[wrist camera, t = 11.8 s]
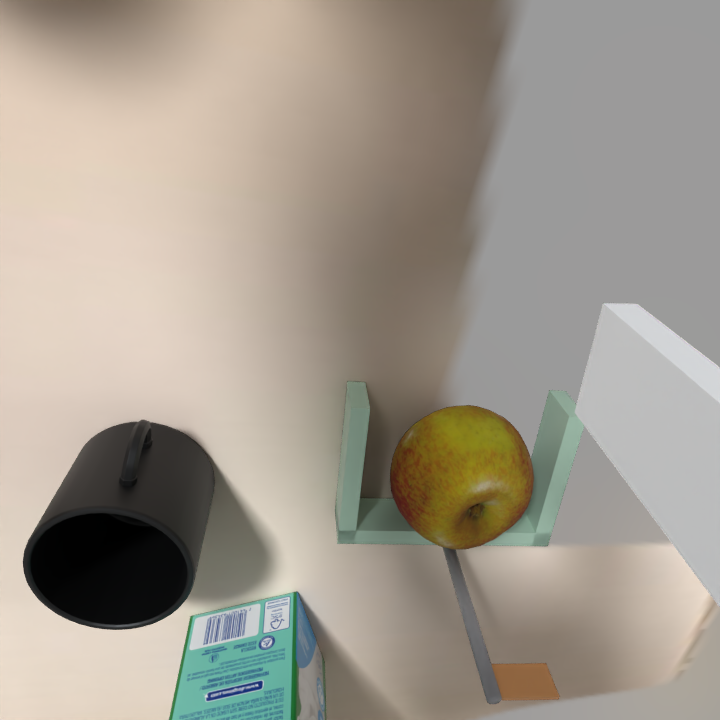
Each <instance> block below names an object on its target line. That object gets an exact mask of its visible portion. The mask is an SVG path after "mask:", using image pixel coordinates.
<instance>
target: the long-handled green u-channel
mask: <svg viewBox="0 0 720 720" xmlns="http://www.w3.org/2000/svg"><path fill="white" fill-rule="evenodd" d="M576 405H577V404H576V403H575V402H574V401H573V400H572V398H571V397H570V396H569V395H568V393H567V392H566V391H553V390H551V391H550V390H549V393H548V397H547V401H546V405H545V409H544V412H543V416H542V420H541V423H540V427H539V431H538V435H537V439H536V443H535V446H534V450H533V454H532V457H531V461H532V466H533V475H534V483H533V491H532V496H531V499H530V502H529V505H528V507H527V509H526V510H525V512H524V514H523V515H522V517H521V518H520V519H519V520H518V521H517V522H516V523H515V524H514V525H513V526H512V527H511V528H509V529H508V530H507V531H505V532H504V533H502V534H501V535H500V536H498V537H497V538H496V539H494V540H492V541H490V542H488V543H485V544H483V545H496V546H548V543H549V540H550V537H551V533H552V530H553V527H554V524H555V520H556V517H557V514H558V510H559V507H560V504H561V500H562V497H563V494H564V491H565V487H566V484H567V481H568V477H569V474H570V471H571V467H572V464H573V461H574V458H575V455H576V451H577V448H578V445H579V441H580V438H581V434H582V432H583V428H584V425H583V423H582V422H581V421H580V419H579V418H578V417H577V415H576V414H575V413H574V412H575V409H576ZM369 415H370V405H369V400H368V394H367V389H366V384H365V382H350V381H347V392H346V402H345V412H344V423H343V433H342V444H341V454H340V464H339V475H338V485H337V495H336V506H335V516H336V531H337V544H415V545H436V544H434V543H432V542H430V541H428V540H426V539H425V538H423V537H422V536H421V535H420V534H418V533H417V532H416V531H415V530H414V529H413V528H412V527H411V526H410V525H409V523H408V522H407V521H406V520H405V518H404V517H403V516H402V514H401V513H400V512H399V510H398V507H397V505H396V503H395V501H394V499H384V498H360V492H361V483H362V475H363V466H364V458H365V449H366V441H367V432H368V424H369ZM443 550H444V553H445V557H446V560H447V564H448V567H449V571H450V574H451V578H452V581H453V585H454V588H455V592H456V595H457V599H458V602H459V606H460V609H461V613H462V616H463V620H464V623H465V627H466V630H467V634H468V637H469V641H470V644H471V647H472V651H473V654H474V658H475V661H476V665H477V668H478V672H479V675H480V679H481V682H482V686H483V689H484V693H485V696H486V700H487V702H488V703H489V704H497V703H499V702H500V701H501V700H550V699H559V694H558V692H557V689H556V687H555V684H554V682H553V679H552V677H551V674H550V672H549V670H548V667H547V665H546V663H535V664H491V662H490V659H489V655H488V652H487V649H486V646H485V643H484V639H483V636H482V633H481V630H480V627H479V623H478V620H477V617H476V614H475V611H474V607H473V604H472V601H471V598H470V595H469V591H468V588H467V585H466V582H465V579H464V575H463V572H462V569H461V566H460V563H459V559H458V556H457V553H456V550H455V549H449V548H445V547H443Z"/></svg>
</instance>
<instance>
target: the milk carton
mask: <svg viewBox="0 0 720 720" xmlns="http://www.w3.org/2000/svg"><path fill="white" fill-rule="evenodd" d="M169 720H326V691H325V662H324V659H323V657H322V654H321V652H320V649H319V646H318V644H317V641H316V639H315V636H314V634H313V631H312V628H311V626H310V623H309V621H308V618H307V616H306V613H305V610H304V608H303V605H302V603H301V600H300V597H299V595H298V593H297V592H293V593H289V594H285V595H280V596H276V597H272V598H267V599H263V600H259V601H254V602H250V603H246V604H241V605H237V606H233V607H228V608H224V609H220V610H216V611H211V612H207V613H203V614H198V615H194V616H191V617H190V621H189V626H188V631H187V636H186V640H185V645H184V650H183V655H182V660H181V664H180V669H179V674H178V679H177V683H176V688H175V693H174V698H173V703H172V707H171V712H170V717H169Z"/></svg>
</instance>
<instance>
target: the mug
mask: <svg viewBox="0 0 720 720" xmlns="http://www.w3.org/2000/svg"><path fill="white" fill-rule="evenodd" d="M214 484H215V480H214V472H213V469H212V466H211V464H210V462H209V460H208V458H207V456H206V454H205V453H204V452H203V450H202V449H201V448H200V447H199V446H198V445H197V444H196V443H195V442H194V441H193V440H192V439H191V438H189V437H188V436H186V435H185V434H183V433H181V432H179V431H178V430H176V429H173V428H171V427H168V426H165V425H161V424H157V423H150V422H149V421H146V420H141V421H139V422H130V423H124V424H119V425H116V426H113V427H110V428H108V429H106V430H104V431H102V432H100V433H98V434H97V435H95V436H94V437H93V438H91V439H90V440H89V441H88V442H87V443H86V444H85V446H84V447H83V449H82V450H81V452H80V453H79V455H78V457H77V458H76V460H75V462H74V463H73V465H72V467H71V469H70V470H69V472H68V474H67V475H66V477H65V479H64V480H63V482H62V484H61V486H60V487H59V489H58V491H57V492H56V494H55V496H54V498H53V499H52V501H51V503H50V504H49V506H48V508H47V509H46V511H45V513H44V515H43V516H42V518H41V520H40V521H39V523H38V525H37V527H36V528H35V530H34V532H33V533H32V535H31V537H30V538H29V540H28V543H27V545H26V548H25V551H24V557H23V568H24V574H25V577H26V581H27V583H28V585H29V587H30V588H31V590H32V591H33V593H34V594H35V595H36V597H37V598H38V599H39V600H40V601H41V602H42V603H43V604H44V605H45V606H47V607H48V608H49V609H51V610H52V611H53V612H55V613H56V614H58V615H60V616H62V617H64V618H66V619H68V620H70V621H73V622H76V623H78V624H81V625H85V626H89V627H94V628H100V629H111V630H122V629H133V628H138V627H143V626H146V625H150V624H153V623H155V622H158V621H160V620H162V619H164V618H166V617H167V616H169V615H171V614H172V613H173V612H174V611H176V610H177V609H178V608H179V607H180V606H181V605H182V604H183V602H184V601H185V600H186V599H187V597H188V595H189V593H190V592H191V589H192V587H193V583H194V580H195V576H196V571H197V566H198V562H199V557H200V552H201V548H202V543H203V539H204V534H205V529H206V525H207V520H208V515H209V511H210V506H211V502H212V497H213V492H214Z"/></svg>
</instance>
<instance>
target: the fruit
mask: <svg viewBox="0 0 720 720" xmlns="http://www.w3.org/2000/svg"><path fill="white" fill-rule="evenodd" d="M390 483H391V492H392V495H393V498H394V501H395V503H396V505H397V507H398V510H399V512H400V513H401V514H402V516H403V517H404V518H405V520H406V521H407V522H408V523H409V525H410V526H411V527H412V528H413V529H414V530H415V531H416V532H417V533H418V534H420V535H421V536H422V537H423V538H425V539H426V540H428V541H430V542H432V543H434V544H436V545H439V546H441V547H445V548H449V549H469V548H473V547H477V546H481V545H483V544H485V543H488V542H490V541H492V540H494V539H496V538H497V537H498V536H500V535H501V534H502V533H504V532H505V531H507V530H508V529H509V528H511V527H512V526H513V525H514V524H515V523H516V522H517V521H518V520H519V519H520V518H521V517H522V515H523V514H524V512H525V510H526V509H527V507H528V505H529V502H530V499H531V496H532V491H533V483H534V475H533V466H532V461H531V458H530V455H529V452H528V450H527V447H526V445H525V443H524V441H523V439H522V437H521V436H520V434H519V432H518V431H517V430H516V429H515V428H514V426H513V425H512V424H511V423H510V422H508V421H507V420H506V419H505V418H504V417H502V416H500V415H498V414H496V413H494V412H492V411H490V410H487V409H484V408H481V407H477V406H471V405H466V406H453V407H446V408H444V409H441V410H438V411H435V412H433V413H431V414H430V415H428V416H426V417H424V418H422V419H421V420H420V421H418V422H417V423H416V424H414V425H413V426H412V427H411V428H410V429H409V430H408V431H407V432H406V433H405V434H404V436H403V437H402V439H401V440H400V442H399V444H398V446H397V448H396V450H395V453H394V456H393V459H392V464H391V472H390Z"/></svg>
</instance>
